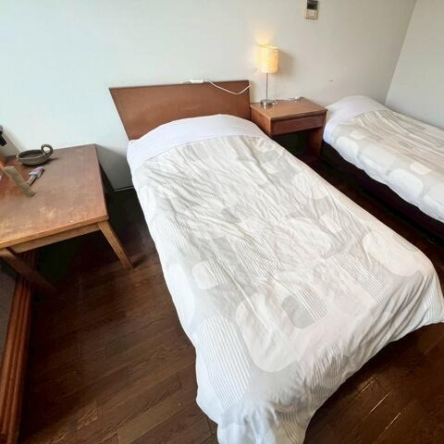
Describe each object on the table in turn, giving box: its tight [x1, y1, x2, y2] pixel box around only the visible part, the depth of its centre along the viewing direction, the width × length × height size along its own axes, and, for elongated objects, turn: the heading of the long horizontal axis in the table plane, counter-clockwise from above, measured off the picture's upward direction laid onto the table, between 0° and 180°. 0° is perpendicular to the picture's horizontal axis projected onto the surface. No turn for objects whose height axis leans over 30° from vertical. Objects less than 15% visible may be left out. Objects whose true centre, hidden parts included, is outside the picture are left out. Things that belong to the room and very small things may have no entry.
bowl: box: [16, 143, 54, 166], centre depth 146 cm, size 14×18×10 cm
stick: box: [3, 165, 36, 198], centre depth 122 cm, size 4×4×16 cm
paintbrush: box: [26, 165, 45, 187], centre depth 137 cm, size 4×3×20 cm
